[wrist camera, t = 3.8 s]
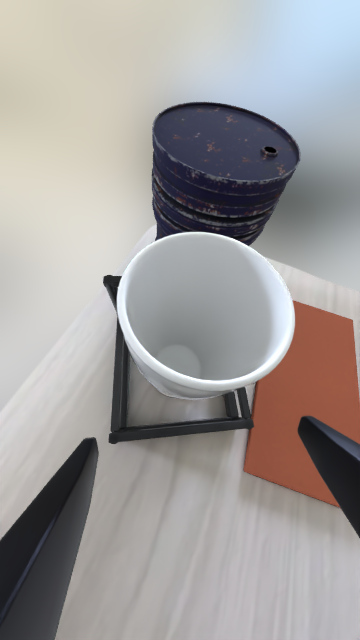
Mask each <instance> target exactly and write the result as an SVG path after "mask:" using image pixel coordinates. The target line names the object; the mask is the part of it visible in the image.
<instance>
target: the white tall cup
mask: <svg viewBox="0 0 360 640" xmlns="http://www.w3.org/2000/svg"><path fill="white" fill-rule="evenodd" d="M117 313H118V318H119V323H120V326H121V329H122V332H123V336H124V339H125V342H126V344H127V347H128V350H129V352H130V354H131V357H132V359H133V361H134V363H135V364H136V366H137V368H138V369H139V371H140V372H141V373H142V375H143V376H144V377H145V378H146V379H147V380H148V382H149V383H151V384H152V385H153V386H154V387H155V388H156V389H157V390H158V391H160V392H161V393H162V394H164V395H166V396H169V397H174V398H180V399H187V400H201V399H209V398H214V397H218V396H221V395H225V394H227V393H230V392H233V391H236V390H238V389H240V388H243V387H245V386H247V385H250V384H252V383H254V382H256V381H258V380H260V379H262V378H263V377H265V376H266V375H268V374H269V373H270V372H271V371H272V370H273V369H275V368H276V366H277V365H278V364H279V363H280V362H281V361H282V359H283V358H284V356H285V355H286V353H287V351H288V349H289V347H290V344H291V342H292V339H293V335H294V329H295V312H294V306H293V301H292V298H291V295H290V292H289V290H288V288H287V286H286V284H285V282H284V280H283V279H282V277H281V276H280V274H279V273H278V272H277V270H276V269H275V268H274V267H273V266H272V264H271V263H270V262H269V261H268V260H266V259H265V258H264V257H263V256H262V255H260V254H259V253H258V252H257V251H255V250H254V249H252V248H250V247H249V246H247V245H245V244H243V243H241V242H239V241H237V240H235V239H232V238H229V237H226V236H223V235H219V234H214V233H207V232H185V233H178V234H174V235H170V236H167V237H164V238H161V239H159V240H157V241H155V242H153V243H151V244H149V245H148V246H146V247H145V248H144V249H142V250H141V251H140V252H139V253H138V254H137V255H136V256H135V257H134V258H133V259H132V260H131V262H130V263H129V264H128V266H127V267H126V269H125V271H124V273H123V275H122V278H121V280H120V283H119V287H118V292H117Z"/></svg>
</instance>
